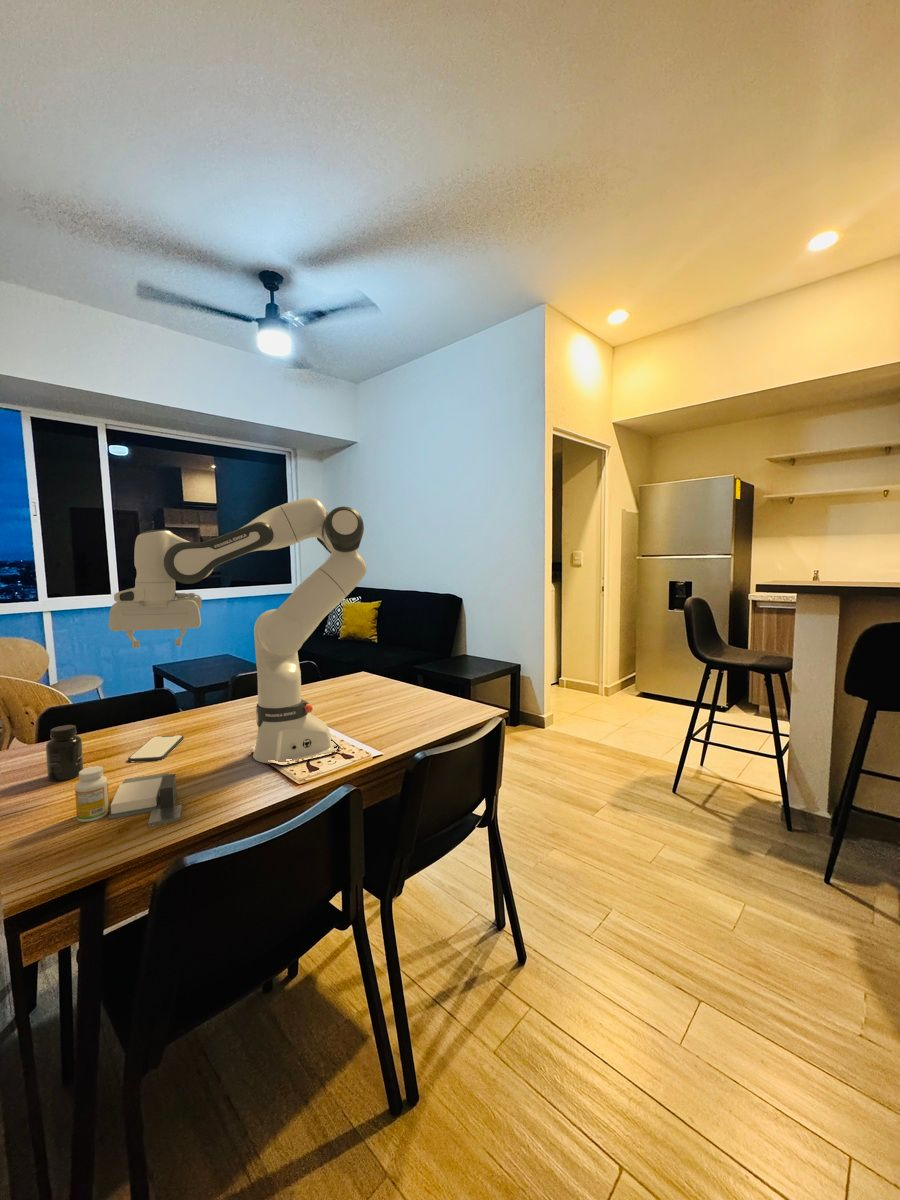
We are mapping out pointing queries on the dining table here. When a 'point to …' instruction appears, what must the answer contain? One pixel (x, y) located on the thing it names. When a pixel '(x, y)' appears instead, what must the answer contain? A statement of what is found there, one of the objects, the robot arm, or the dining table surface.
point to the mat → (142, 809)
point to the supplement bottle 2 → (91, 794)
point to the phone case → (156, 748)
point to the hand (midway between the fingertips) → (157, 646)
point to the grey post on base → (166, 803)
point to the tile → (136, 796)
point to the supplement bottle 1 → (64, 753)
